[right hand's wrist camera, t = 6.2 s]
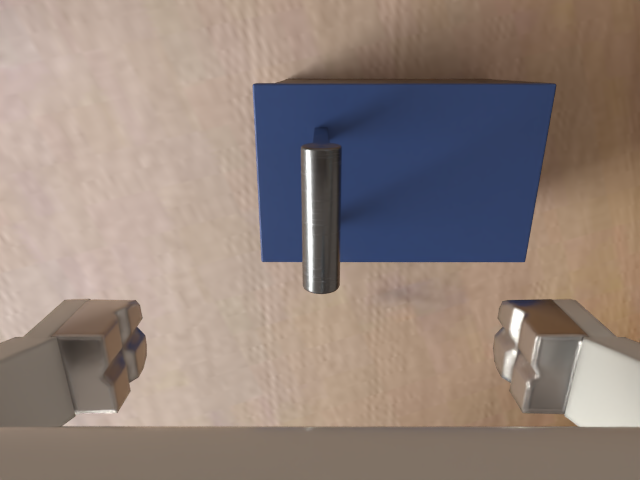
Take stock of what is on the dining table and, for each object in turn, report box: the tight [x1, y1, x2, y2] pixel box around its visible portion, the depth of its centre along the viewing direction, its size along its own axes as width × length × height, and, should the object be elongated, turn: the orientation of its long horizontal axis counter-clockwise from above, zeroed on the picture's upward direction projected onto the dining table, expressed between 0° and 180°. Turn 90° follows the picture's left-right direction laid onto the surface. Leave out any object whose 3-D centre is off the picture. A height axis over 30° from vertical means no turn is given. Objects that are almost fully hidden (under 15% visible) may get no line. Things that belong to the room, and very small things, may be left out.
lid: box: [253, 83, 556, 294], centre depth 21 cm, size 15×10×8 cm, turn 90°
